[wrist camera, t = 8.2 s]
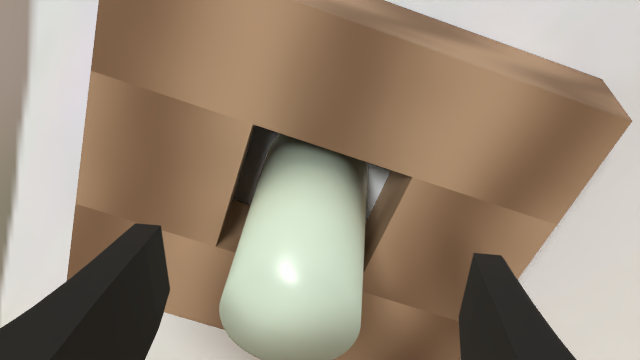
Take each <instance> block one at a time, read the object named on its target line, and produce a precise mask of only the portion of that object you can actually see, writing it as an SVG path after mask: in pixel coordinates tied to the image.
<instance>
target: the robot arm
mask: <svg viewBox="0 0 640 360" xmlns="http://www.w3.org/2000/svg"><path fill="white" fill-rule="evenodd" d="M169 292H170V284H169V277H168V271H167V264H166V257H165V250H164V243H163V236H162V229H161V225H150V224H138V223H135V224H134V225H133V226H132V227H130V228H129V229H128V230H127V231H126V232H124V233H123V234H122V235H121V236H120V237H119V238H117V239H116V240H115V241H114V242H113V243H112V244H110V245H109V246H108V247H107V248H106V249H105V250H103V251H102V252H101V253H100V254H99V255H98V256H97V257H95V258H94V259H93V260H92V261H91V262H89V263H88V264H87V265H86V266H85V267H83V268H82V269H81V270H80V271H79V272H77V273H76V274H75V275H74V276H73V277H71V278H70V279H69V280H68V281H66V282H65V283H64V284H63V285H61V286H60V287H59V288H57V289H56V290H55V291H53V292H52V293H51V294H49V295H48V296H47V297H45V298H44V299H43V300H41V301H40V302H39V303H37V304H36V305H35V306H33V307H32V308H30V309H29V310H28V311H26V312H25V313H23V314H22V315H20V316H19V317H17V318H16V319H14V320H13V321H11V322H9V323H8V324H6V325H5V326H3V327H2V328H0V360H145V358H146V356H147V354H148V351H149V349H150V347H151V345H152V342H153V340H154V338H155V336H156V333H157V331H158V329H159V326H160V322H161V319H162V316H163V313H164V310H165V306H166V303H167V299H168V296H169ZM459 335H460V351H461V360H576V359H575V357H574V356H573V355H572V354H571V353H570V351H569V350H568V349H567V348H566V347H565V345H564V344H563V343H562V341H561V340H560V339H559V338H558V336H557V335H556V334H555V332H554V331H553V330H552V328H551V327H550V326H549V324H548V323H547V322H546V320H545V319H544V318H543V316H542V315H541V313H540V312H539V311H538V309H537V308H536V306H535V305H534V304H533V302H532V301H531V299H530V298H529V296H528V295H527V293H526V292H525V290H524V289H523V287H522V286H521V284H520V283H519V281H518V280H517V278H516V277H515V275H514V273H513V272H512V270H511V269H510V267H509V266H508V264H507V262H506V261H505V259H504V258H503V257H502V256H501V255H493V254H481V253H473V258H472V262H471V266H470V270H469V275H468V279H467V283H466V287H465V292H464V296H463V300H462V304H461V308H460V313H459Z"/></svg>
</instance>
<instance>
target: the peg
mask: <svg viewBox="0 0 640 360" xmlns="http://www.w3.org/2000/svg"><path fill="white" fill-rule="evenodd" d="M367 182H368V162H365V161H362V160H359V159H356V158H353V157H350V156H347V155H344V154H341V153H338V152H335V151H332V150H329V149H326V148H323V147H320V146H317V145H314V144H311V143H308V142H305V141H302V140H299V139H296V138H293V137H290V136H287V135H284V134H281V133H280V134H279V135H278V136H277V137H276V138H275V139H274V140H273V142H272V144H271V145H270V147H269V150H268V153H267V156H266V159H265V162H264V165H263V168H262V172H261V175H260V178H259V181H258V184H257V187H256V190H255V193H254V197H253V200H252V203H251V206H250V209H249V212H248V215H247V219H246V222H245V225H244V228H243V231H242V234H241V237H240V240H239V244H238V247H237V250H236V253H235V256H234V259H233V262H232V266H231V269H230V272H229V275H228V278H227V281H226V284H225V287H224V291H223V294H222V297H221V300H220V305H219V314H220V319H221V322H222V325H223V327H224V329H225V331H226V332H227V334H228V335H229V337H230V338H231V339H232V340H233V341H234V342H235V343H236V344H237V345H238V346H240V347H241V348H242V349H244V350H245V351H246V352H248V353H250V354H252V355H253V356H255V357H258V358H260V359H262V360H333V359H335V358H337V357H339V356H341V355H342V354H344V353H345V352H346V351H347V350H349V348H350V347H351V346H352V345H353V344H354V342H355V341H356V339H357V337H358V335H359V332H360V327H361V309H362V288H363V267H364V245H365V224H366V203H367Z"/></svg>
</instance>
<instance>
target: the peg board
mask: <svg viewBox="0 0 640 360" xmlns="http://www.w3.org/2000/svg"><path fill="white" fill-rule="evenodd" d="M631 122H632V120H631V119H630V117H629V116H628V114H627V113H626V112H625V110H624V109H623V108H622V106H621V105H620V103H619V102H618V101H617V99H616V98H615V97H614V95H613V94H612V93H611V91H610V90H609V88H608V87H607V86H606V84H605V83H604V82H603V80H602V79H599V78H597V77H594V76H591V75H588V74H586V73H583V72H580V71H577V70H575V69H572V68H569V67H566V66H564V65H561V64H558V63H555V62H552V61H550V60H547V59H544V58H541V57H539V56H536V55H533V54H530V53H528V52H525V51H522V50H519V49H517V48H514V47H511V46H508V45H506V44H503V43H500V42H497V41H494V40H492V39H489V38H486V37H483V36H481V35H478V34H475V33H472V32H470V31H467V30H464V29H461V28H459V27H456V26H453V25H450V24H448V23H445V22H442V21H439V20H437V19H434V18H431V17H428V16H425V15H423V14H420V13H417V12H414V11H412V10H409V9H406V8H403V7H401V6H398V5H395V4H392V3H390V2H387V1H384V0H99V5H98V14H97V22H96V31H95V40H94V48H93V57H92V66H91V75H90V83H89V92H88V101H87V109H86V118H85V127H84V136H83V144H82V153H81V162H80V170H79V179H78V188H77V197H76V205H75V214H74V223H73V231H72V240H71V249H70V258H69V266H68V275H67V281H68V280H69V279H70V278H71V277H73V276H74V275H75V274H76V273H77V272H79V271H80V270H81V269H82V268H83V267H85V266H86V265H87V264H88V263H89V262H91V261H92V260H93V259H94V258H95V257H97V256H98V255H99V254H100V253H101V252H102V251H103V250H105V249H106V248H107V247H108V246H109V245H110V244H112V243H113V242H114V241H115V240H116V239H117V238H119V237H120V236H121V235H122V234H123V233H124V232H126V231H127V230H128V229H129V228H130V227H132V226H133V225H134V224H135V223H138V224H150V225H161V229H162V236H163V243H164V250H165V257H166V264H167V271H168V277H169V284H170V292H169V296H168V299H167V303H166V306H165V310H164V312H166V313H169V314H173V315H176V316H179V317H183V318H186V319H190V320H193V321H196V322H200V323H203V324H207V325H210V326H214V327H217V328H220V329H224V327H223V325H222V322H221V319H220V314H219V305H220V300H221V297H222V294H223V291H224V287H225V284H226V281H227V278H228V275H229V272H230V269H231V266H232V262H233V259H234V256H235V253H236V250H237V247H238V244H239V240H240V237H241V234H242V231H243V228H244V225H245V222H246V219H247V215H248V212H249V209H250V206H251V205H248V204H245V203H242V202H238V201H235V200H233V197H234V194H235V191H236V187H237V184H238V181H239V177H240V174H241V171H242V168H243V164H244V161H245V158H246V155H247V151H248V148H249V145H250V142H251V138H252V135H253V132H254V129H255V125H256V126H259V127H263V128H266V129H269V130H272V131H275V132H278V133H281V134H284V135H287V136H290V137H293V138H296V139H299V140H302V141H305V142H308V143H311V144H314V145H317V146H320V147H323V148H326V149H329V150H332V151H335V152H338V153H341V154H344V155H347V156H350V157H353V158H356V159H359V160H362V161H365V162H368V163H371V164H374V165H377V166H380V167H383V168H386V169H389V170H391V172H390V174H389V176H388V178H387V180H386V182H385V184H384V187H383V189H382V191H381V193H380V195H379V197H378V199H377V201H376V203H375V205H374V207H373V209H372V211H371V213H370V216H369V218H368V220H367V222H366V224H365V245H364V267H363V288H362V309H361V327H360V332H359V335H358V337H357V339H356V341H355V342H354V344H353V345H352V346H351V347H350V348H349V350H347V351H346V352H345V353H344V354H342V355H341V356H339V357H337V358H335V359H333V360H459V359H460V358H461V351H460V335H459V313H460V308H461V304H462V300H463V296H464V292H465V287H466V283H467V279H468V275H469V270H470V266H471V262H472V258H473V253H481V254H493V255H501V256H502V257H503V258H504V259H505V261H506V262H507V264H508V266H509V267H510V269H511V270H512V272H513V273H514V275H515V277H516V278H517V279H518V278H519V277H520V275H521V274H522V272H523V271H524V270H525V268H526V267H527V265H528V264H529V263H530V261H531V260H532V259H533V257H534V256H535V254H536V253H537V252H538V250H539V249H540V248H541V246H542V245H543V243H544V242H545V241H546V239H547V238H548V237H549V235H550V234H551V232H552V231H553V230H554V228H555V227H556V225H557V224H558V223H559V221H560V220H561V219H562V217H563V216H564V214H565V213H566V212H567V210H568V209H569V208H570V206H571V205H572V203H573V202H574V201H575V199H576V198H577V197H578V195H579V194H580V192H581V191H582V190H583V188H584V187H585V185H586V184H587V183H588V181H589V180H590V179H591V177H592V176H593V174H594V173H595V172H596V170H597V169H598V168H599V166H600V165H601V163H602V162H603V161H604V159H605V158H606V156H607V155H608V154H609V152H610V151H611V150H612V148H613V147H614V145H615V144H616V143H617V141H618V140H619V139H620V137H621V136H622V134H623V133H624V132H625V130H626V129H627V128H628V126H629V125H630V123H631ZM224 330H225V329H224Z"/></svg>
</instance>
